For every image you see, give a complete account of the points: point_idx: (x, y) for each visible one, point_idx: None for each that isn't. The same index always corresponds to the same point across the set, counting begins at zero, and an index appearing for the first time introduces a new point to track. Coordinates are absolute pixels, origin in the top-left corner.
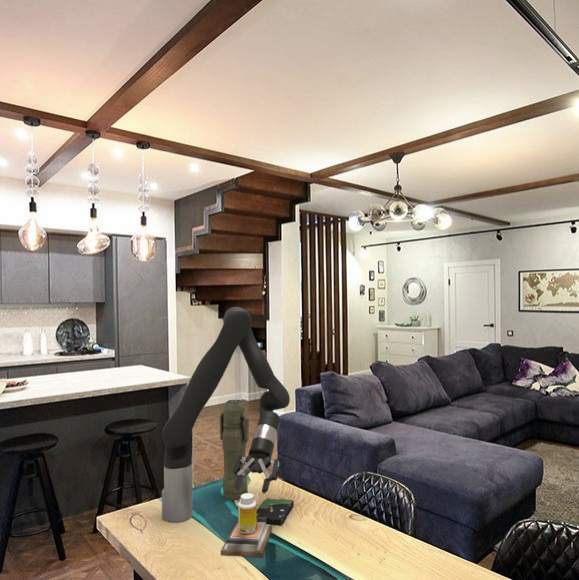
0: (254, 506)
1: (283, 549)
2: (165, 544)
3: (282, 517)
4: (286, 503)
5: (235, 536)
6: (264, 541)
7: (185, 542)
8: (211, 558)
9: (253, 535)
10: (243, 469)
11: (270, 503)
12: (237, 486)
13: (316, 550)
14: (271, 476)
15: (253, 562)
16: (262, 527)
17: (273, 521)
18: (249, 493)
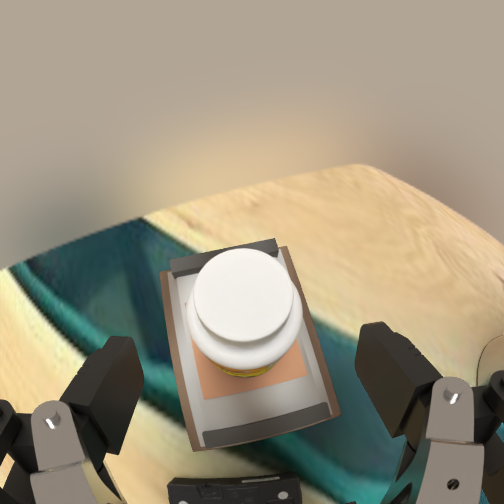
0: (188, 297)
1: (116, 333)
2: (435, 250)
3: (169, 496)
4: None
5: None
6: (174, 336)
7: (409, 274)
8: (298, 232)
9: None
10: (450, 441)
11: None
12: (370, 324)
13: (43, 346)
14: (25, 430)
15: (179, 249)
16: (198, 386)
17: (203, 482)
18: (245, 335)
